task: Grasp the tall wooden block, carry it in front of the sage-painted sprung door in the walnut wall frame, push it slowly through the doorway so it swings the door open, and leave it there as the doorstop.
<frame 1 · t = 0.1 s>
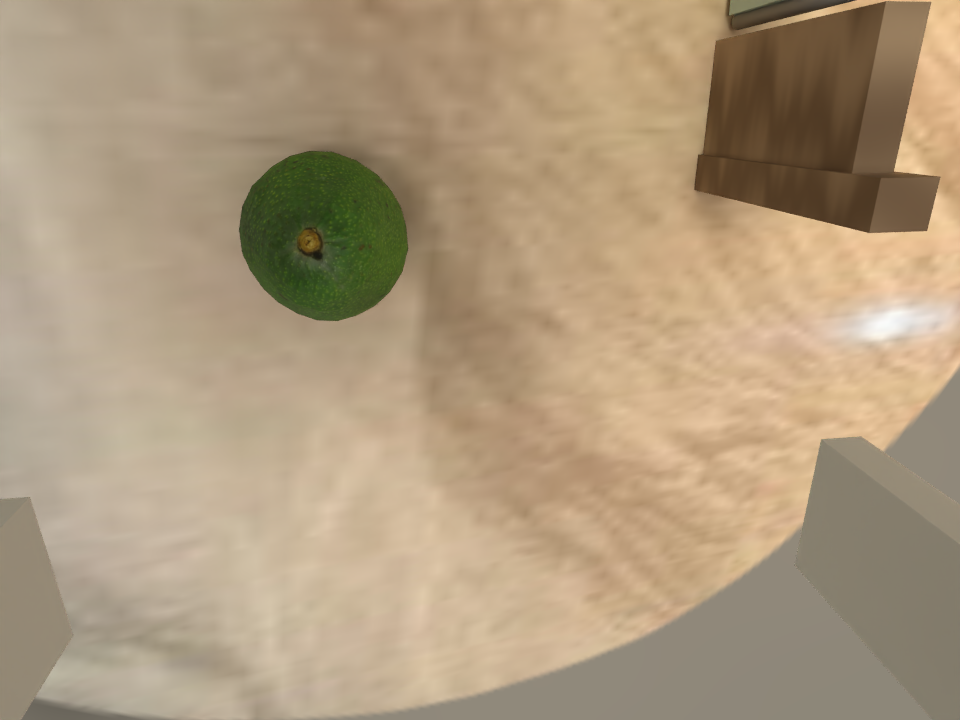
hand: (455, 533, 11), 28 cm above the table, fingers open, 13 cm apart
fruit: (335, 221, 36), on the table
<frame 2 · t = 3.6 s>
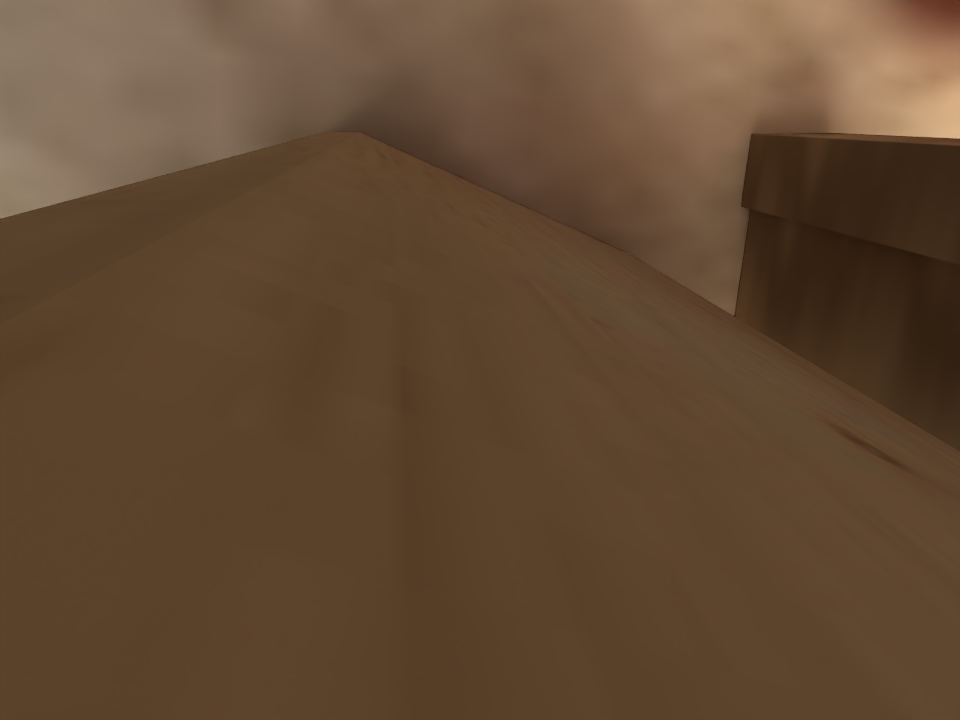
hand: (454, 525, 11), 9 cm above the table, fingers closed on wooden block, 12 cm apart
wooden block: (429, 348, 19), on the table, touching gripper
wall frame: (718, 583, 24), on the table
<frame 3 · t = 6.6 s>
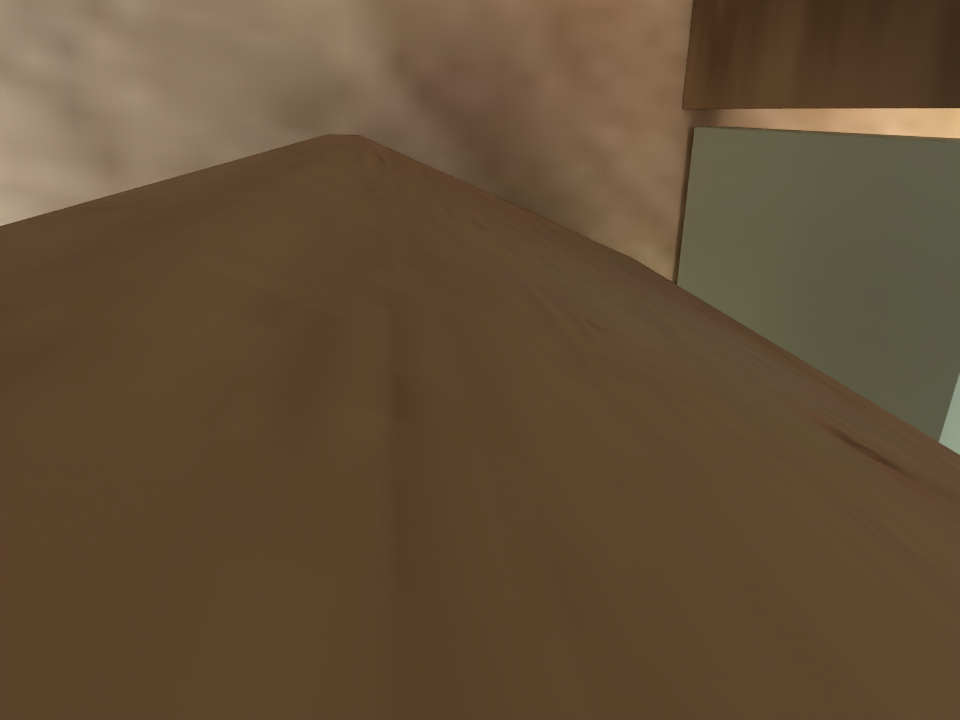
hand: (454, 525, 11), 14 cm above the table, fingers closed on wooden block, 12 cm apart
door: (769, 448, 20), point 7 cm above the table, hinge at 0.0°
wooden block: (429, 350, 19), point 5 cm above the table, touching gripper
wall frame: (676, 367, 26), on the table
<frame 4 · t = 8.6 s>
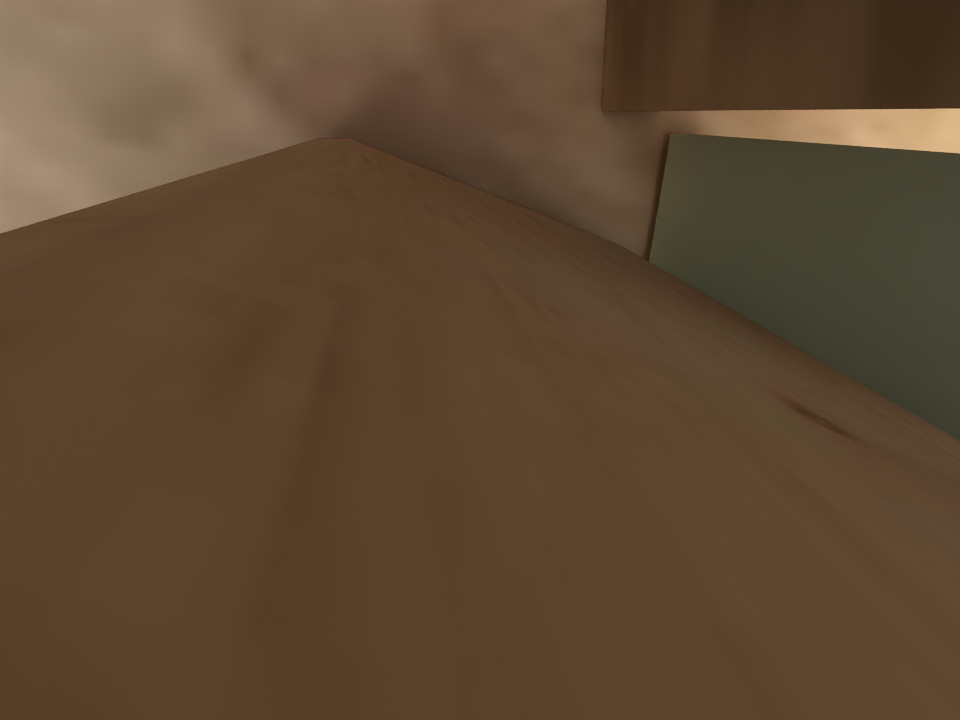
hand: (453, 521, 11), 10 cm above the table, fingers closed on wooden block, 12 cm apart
door: (730, 533, 16), point 7 cm above the table, hinge at 5.3°, touching gripper
wooden block: (428, 346, 19), point 1 cm above the table, touching gripper
wall frame: (611, 414, 22), on the table
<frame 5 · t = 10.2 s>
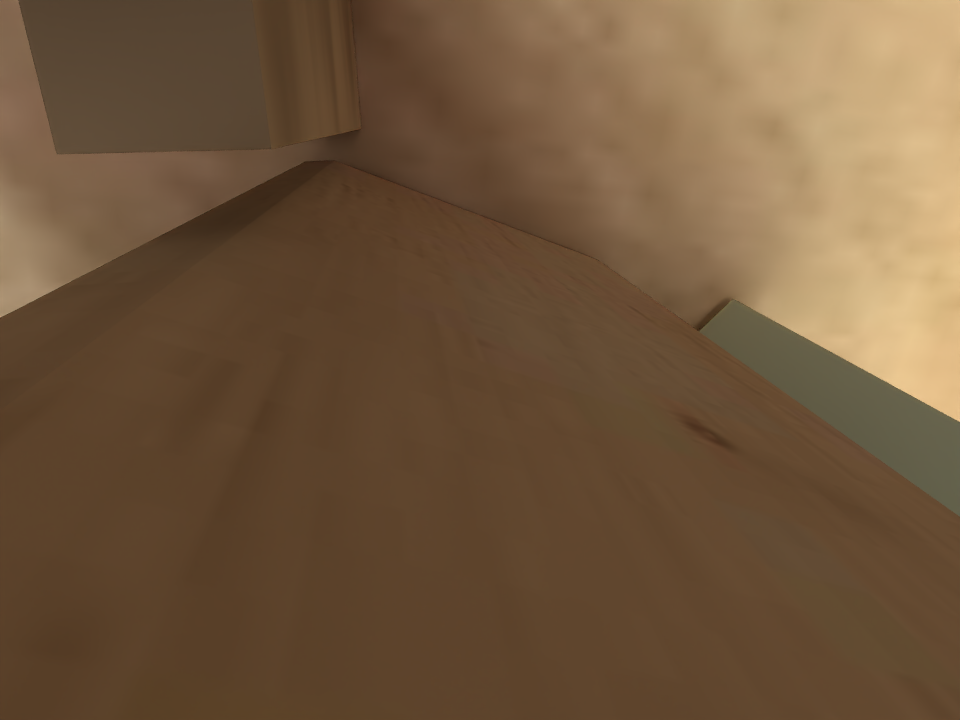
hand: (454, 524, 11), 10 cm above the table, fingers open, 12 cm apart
door: (596, 643, 16), point 7 cm above the table, hinge at 44.5°, touching wooden block
wooden block: (414, 354, 20), resting on door, touching gripper
wall frame: (360, 445, 21), on the table
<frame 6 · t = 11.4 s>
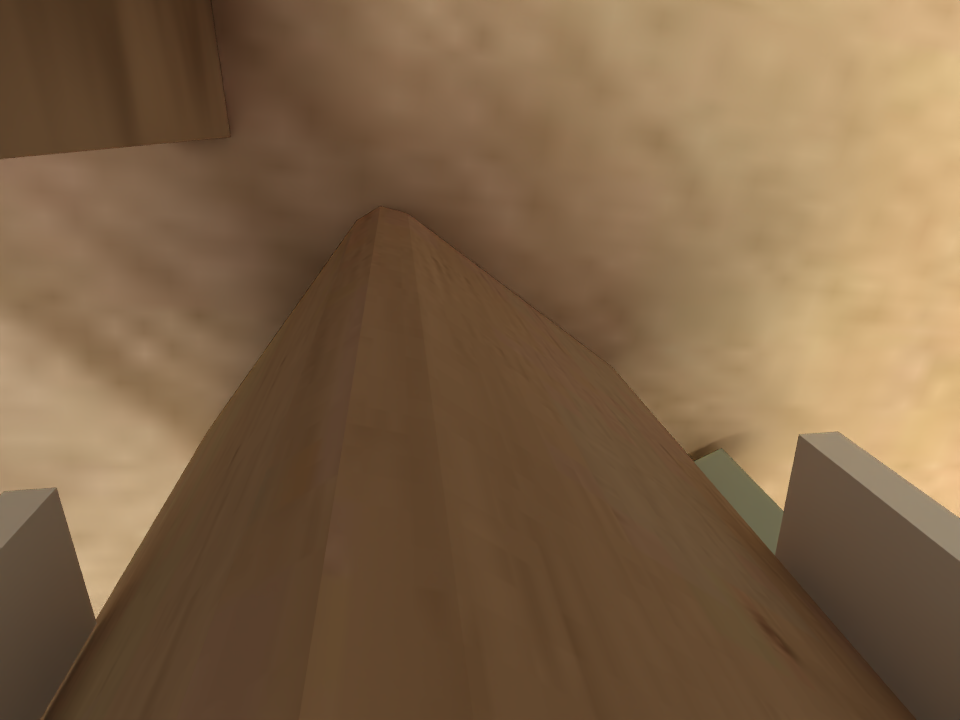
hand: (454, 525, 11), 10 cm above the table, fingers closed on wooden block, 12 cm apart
wooden block: (416, 403, 21), on the table, touching door, gripper
wall frame: (248, 457, 21), on the table
when the fingers open (10 cm above the table, at t = 12.8 s): wooden block stays where it is, on the table.
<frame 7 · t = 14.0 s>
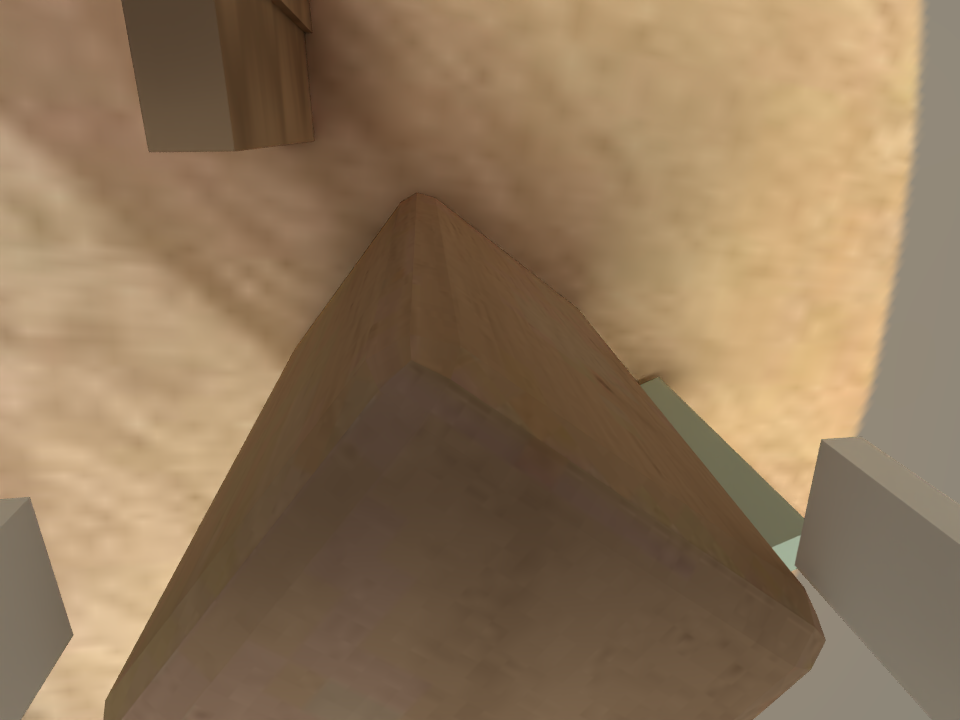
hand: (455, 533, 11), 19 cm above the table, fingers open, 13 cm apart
door: (511, 542, 25), point 7 cm above the table, hinge at 66.8°
wooden block: (439, 334, 29), on the table
wall frame: (315, 368, 29), on the table
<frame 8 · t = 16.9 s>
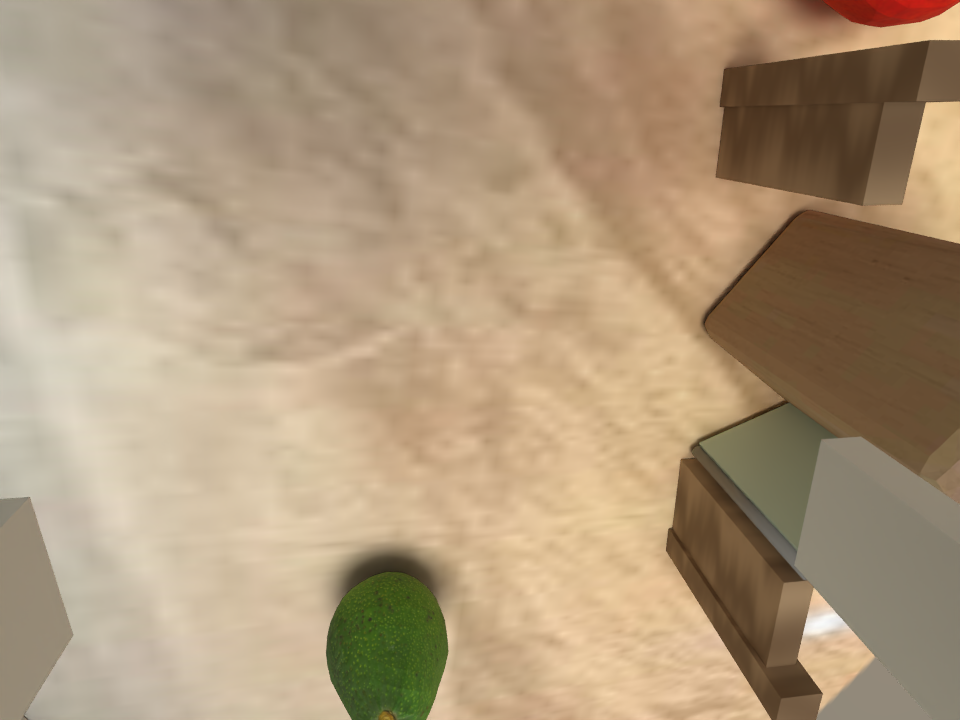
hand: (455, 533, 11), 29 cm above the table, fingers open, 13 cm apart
fruit: (388, 588, 47), on the table
door: (878, 444, 38), point 7 cm above the table, hinge at 66.9°
wooden block: (792, 306, 42), on the table
wall frame: (709, 331, 42), on the table
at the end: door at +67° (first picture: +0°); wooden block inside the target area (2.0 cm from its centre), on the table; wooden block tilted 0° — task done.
